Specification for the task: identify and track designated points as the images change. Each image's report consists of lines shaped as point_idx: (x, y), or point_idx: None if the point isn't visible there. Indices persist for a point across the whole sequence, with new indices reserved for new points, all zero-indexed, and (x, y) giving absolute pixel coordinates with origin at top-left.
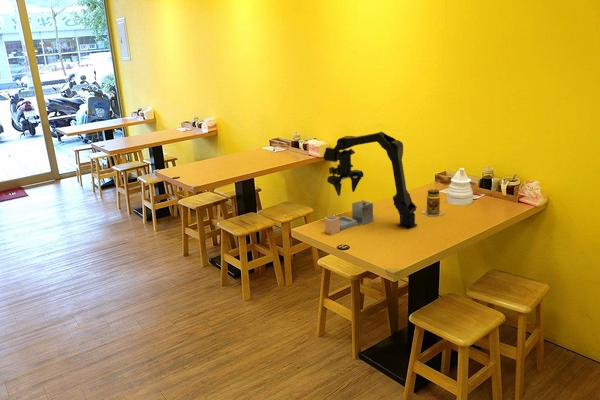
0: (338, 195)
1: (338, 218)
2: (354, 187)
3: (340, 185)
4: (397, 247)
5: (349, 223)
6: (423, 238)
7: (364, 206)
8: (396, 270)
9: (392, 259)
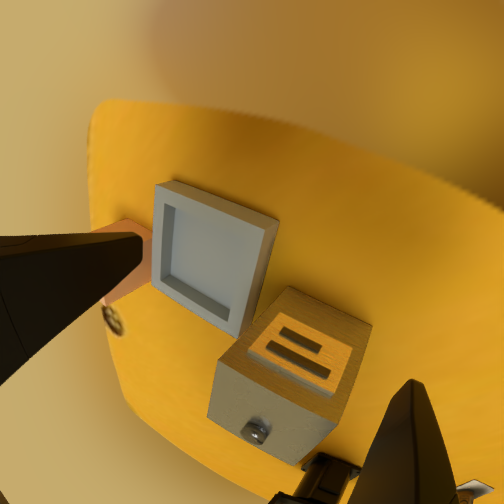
0: (131, 244)
1: (103, 302)
2: (361, 480)
3: (5, 364)
4: (187, 429)
5: (192, 311)
6: (260, 475)
7: (226, 426)
8: (132, 410)
9: (148, 412)
